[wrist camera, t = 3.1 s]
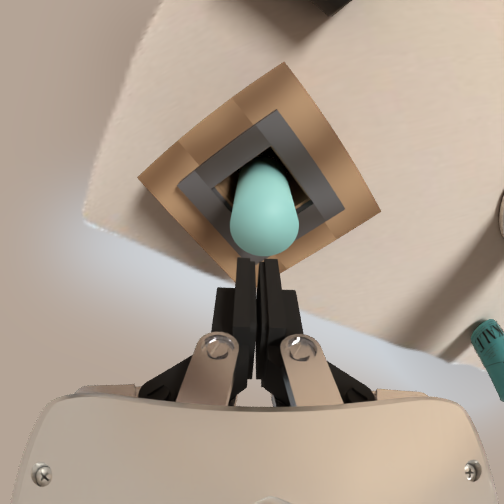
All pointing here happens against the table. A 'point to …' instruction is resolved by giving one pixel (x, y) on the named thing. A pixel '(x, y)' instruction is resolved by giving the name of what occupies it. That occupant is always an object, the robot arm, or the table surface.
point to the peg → (263, 209)
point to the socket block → (245, 149)
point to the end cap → (330, 5)
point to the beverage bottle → (491, 352)
